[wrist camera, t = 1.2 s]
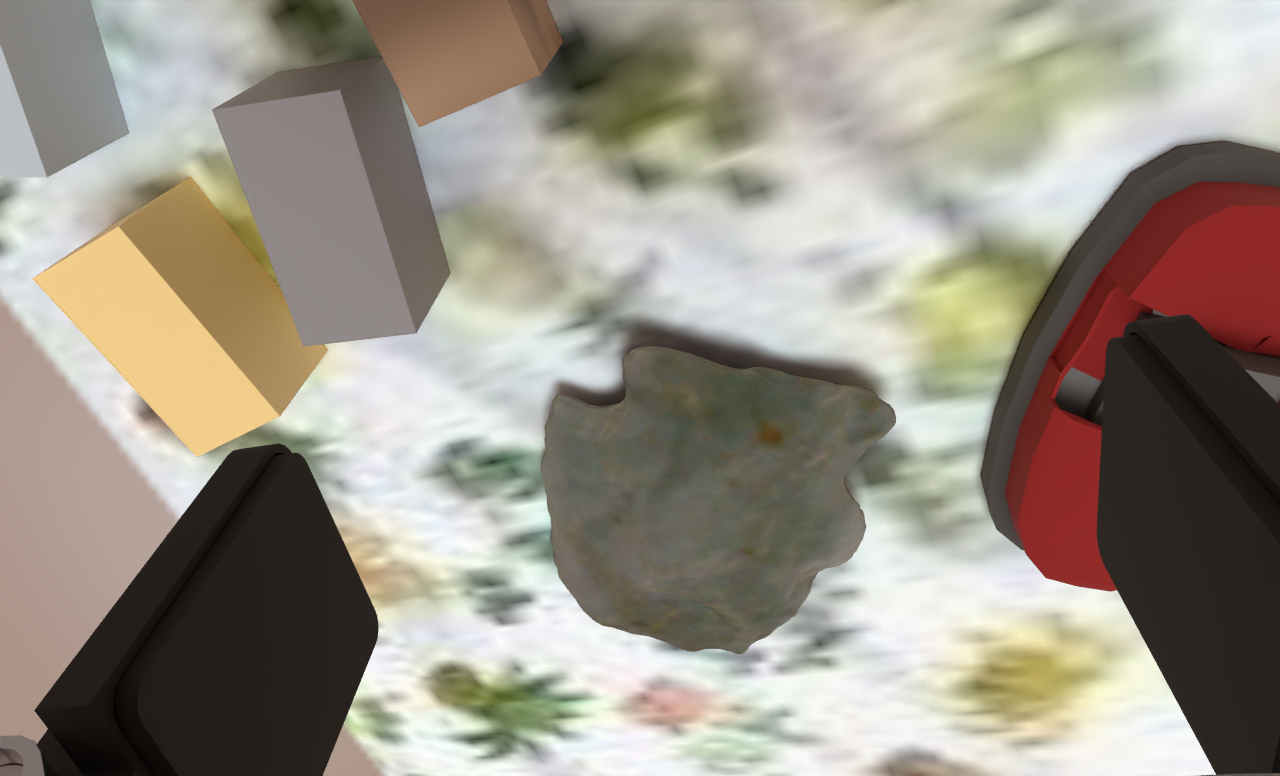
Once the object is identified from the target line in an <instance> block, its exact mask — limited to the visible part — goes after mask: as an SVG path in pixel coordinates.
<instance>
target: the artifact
mask: <svg viewBox="0 0 1280 776" xmlns="http://www.w3.org/2000/svg"><path fill="white" fill-rule="evenodd" d="M622 366H623V379H624V383H625V389H626V395H625V398H624V399H623V400H622V402H620V403H616V404H612V405H608V406H597V405H590V404H588V403H586V402H584V401H582V400H580V399H578V398H576V397H574V396H567V395H556V397H555V399H554V400H553V409H552V413H551V414H550V416H549V418H548V420H547V423H546V425H545V431H546V435H545V439H544V440H545V445H546V452H545V455H544V458H543V461H542V463H541V471H542V476H543V481H544V485H545V492H546V494H547V505H548V511H549V514H550V517H551V524H552V530H551V537H550V542H551V544H552V546H553V548H554V562H555V564H556V566H557V569H558V574H559V578H560V579H561V581H562V582H563V583H564V585H565V586H566V587H567V589H568V590H569V592H570V593H571V594H572V595H573V597H574V598H575V599H576V601H577V602H578V604H579V606H580V607H581V608H582V610H583V611H584V612H585V613H586V614H587V615H588V616H590V617H591V618H592V619H593V620H594V621H595V622H597V623H599V624H601V625H603V626H608V627H613V628H616V629H619V630H622V631H626V632H629V633H632V634H638V635H644V636H650V637H652V638H655V639H658V640H661V641H664V642H667V643H669V644H671V645H674V646H676V647H679V648H681V649H684V650H687V651H699V650H702V649H722V650H726V651H731V652H734V653H736V654H743V653H744V652H745V651H746V650H747V649H748V648H749V647H750V645H751V644H753V643H754V642H756V641H758V640H761V639H763V638H765V637H767V636H769V635H770V634H771V633H772V632H773V631H774V630H775V629H776V628H777V627H779V626H781V625H783V624H784V623H786V622H787V621H788V620H790V619H791V618H792V617H794V616H795V615H796V614H797V612H798V609H799V607H800V606H801V605H802V603H803V602H804V601H805V600H806V598H807V596H808V594H809V593H810V590H811V587H812V583H813V580H814V578H815V577H816V575H817V573H818V572H819V571H821V570H823V569H825V568H829V567H835V566H839V565H841V564H843V563H845V562H847V561H848V560H849V559H850V558H851V557H852V556H853V554H854V552H855V551H856V550H857V549H858V547H859V545H860V543H861V541H862V539H863V536H864V532H865V529H866V524H865V518H864V513H863V511H862V510H861V509H860V505H859V504H858V503H857V502H856V501H855V500H854V499H853V498H852V496H851V494H850V493H849V491H848V490H847V488H846V486H845V474H846V473H847V471H848V470H849V469H850V468H851V467H852V466H853V465H854V464H855V462H856V461H857V460H858V459H859V457H860V456H862V455H863V454H864V452H865V451H866V449H867V448H868V447H869V446H870V445H871V444H872V443H874V442H875V441H877V440H879V439H881V438H882V437H884V436H885V435H886V434H887V433H888V432H889V431H890V429H891V428H892V427H893V426H894V425H895V423H896V416H895V412H894V410H893V408H892V407H891V406H890V405H889V404H888V403H886V402H884V401H882V400H881V399H879V398H878V397H877V396H876V395H875V394H874V392H872V391H871V390H868V389H865V388H862V387H858V386H855V385H837V384H834V383H831V382H829V381H825V380H819V379H813V378H807V377H801V376H794V375H791V374H788V373H785V372H782V371H779V370H776V369H773V368H766V367H760V366H757V367H752V368H747V369H738V368H732V367H728V366H725V365H721V364H718V363H716V362H713V361H710V360H707V359H704V358H702V357H699V356H696V355H693V354H690V353H686V352H682V351H679V350H675V349H671V348H667V347H656V346H644V347H638V348H636V349H634V350H632V351H630V352H629V353H628V354H626V355H625V356H624V357H623V358H622Z"/></svg>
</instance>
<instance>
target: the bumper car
mask: <svg viewBox="0 0 1280 776" xmlns="http://www.w3.org/2000/svg"><path fill="white" fill-rule="evenodd" d="M1183 314H1189V315H1190V316H1191V317H1193V318H1194V319H1195V320H1196V321H1197V322H1198V323H1199V324H1200V325H1201V326H1202V327H1203V328H1204V329H1205V330H1206V331H1207V332H1208V333H1209V334H1210V335H1211V336H1212V337H1213V338H1214V339H1215V340H1216V341H1217V342H1218V343H1219V344H1220V345H1221V346H1222V347H1223V348H1224V349H1225V350H1226V351H1227V352H1228V353H1229V354H1230V355H1231V356H1232V357H1233V358H1234V359H1235V360H1236V361H1237V362H1238V363H1239V364H1240V365H1241V366H1242V367H1243V368H1244V369H1245V370H1246V371H1247V372H1248V373H1249V374H1250V375H1251V376H1252V377H1253V378H1254V379H1255V380H1256V381H1257V382H1258V384H1259V385H1260V386H1261V387H1262V388H1263V389H1264V390H1265V391H1266V392H1267V393H1268V394H1269V395H1270V396H1271V397H1272V398H1273V399H1274V400H1275V401H1276V402H1277V403H1278V404H1279V405H1280V153H1276V152H1272V151H1267V150H1263V149H1258V148H1254V147H1249V146H1245V145H1240V144H1236V143H1231V142H1226V141H1225V142H1216V143H1208V144H1199V145H1191V146H1182V147H1178V148H1176V149H1175V150H1173V151H1171V152H1169V153H1167V154H1166V155H1164V156H1162V157H1160V158H1159V159H1157V160H1155V161H1153V162H1151V163H1150V164H1148V165H1146V166H1144V167H1142V168H1141V169H1139V170H1137V171H1135V172H1134V173H1132V174H1131V175H1130V176H1129V178H1128V179H1127V180H1126V182H1125V183H1124V184H1123V185H1122V187H1121V188H1120V189H1119V191H1118V192H1117V193H1116V194H1115V196H1114V197H1113V198H1112V200H1111V201H1110V202H1109V203H1108V205H1107V206H1106V207H1105V209H1104V210H1103V211H1102V212H1101V214H1100V215H1099V216H1098V218H1097V219H1096V220H1095V221H1094V223H1093V224H1092V225H1091V227H1090V228H1089V229H1088V230H1087V232H1086V233H1085V234H1084V236H1083V237H1082V238H1081V239H1080V241H1079V242H1078V243H1077V245H1076V246H1075V247H1074V248H1073V250H1072V251H1071V252H1070V254H1069V256H1068V258H1067V260H1066V261H1065V263H1064V265H1063V267H1062V268H1061V270H1060V272H1059V274H1058V275H1057V277H1056V279H1055V281H1054V282H1053V284H1052V286H1051V288H1050V290H1049V291H1048V293H1047V295H1046V297H1045V298H1044V300H1043V302H1042V304H1041V305H1040V307H1039V309H1038V311H1037V312H1036V314H1035V316H1034V318H1033V320H1032V321H1031V323H1030V325H1029V327H1028V328H1027V330H1026V332H1025V334H1024V336H1023V339H1022V341H1021V344H1020V347H1019V349H1018V352H1017V354H1016V357H1015V360H1014V362H1013V365H1012V367H1011V370H1010V373H1009V375H1008V378H1007V381H1006V383H1005V386H1004V388H1003V391H1002V394H1001V396H1000V399H999V402H998V404H997V407H996V409H995V413H994V417H993V422H992V427H991V432H990V436H989V441H988V446H987V451H986V455H985V460H984V465H983V469H982V474H981V479H982V483H983V487H984V491H985V495H986V499H987V503H988V507H989V511H990V514H991V517H992V519H993V522H994V524H995V527H996V529H997V530H998V531H999V532H1000V533H1002V534H1003V535H1004V536H1005V537H1007V538H1008V539H1009V540H1010V541H1011V542H1013V543H1014V544H1015V545H1016V546H1018V547H1019V548H1020V549H1021V550H1024V551H1025V553H1026V555H1027V556H1028V557H1029V559H1030V560H1031V561H1032V562H1033V563H1034V564H1035V566H1036V567H1037V568H1038V569H1039V570H1040V572H1041V573H1042V574H1043V575H1044V576H1045V578H1048V579H1052V580H1055V581H1059V582H1063V583H1067V584H1070V585H1074V586H1078V587H1085V588H1091V589H1098V590H1105V591H1115V590H1117V589H1116V587H1115V585H1114V583H1113V581H1112V579H1111V577H1110V575H1109V574H1108V572H1107V570H1106V568H1105V566H1104V564H1103V562H1102V559H1101V556H1100V553H1099V548H1098V543H1097V512H1098V493H1099V474H1100V455H1101V436H1102V417H1103V398H1104V379H1105V360H1106V348H1107V344H1108V341H1109V340H1110V339H1111V338H1116V337H1123V332H1124V330H1125V327H1126V325H1127V324H1128V323H1129V322H1134V321H1141V320H1148V319H1155V318H1162V317H1169V316H1176V315H1183Z"/></svg>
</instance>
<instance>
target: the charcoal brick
mask: <svg viewBox="0 0 1280 776" xmlns="http://www.w3.org/2000/svg"><path fill="white" fill-rule="evenodd" d="M212 111H213V113H214V116H215V119H216V121H217V124H218V126H219V129H220V132H221V134H222V137H223V139H224V142H225V144H226V147H227V150H228V152H229V155H230V157H231V160H232V163H233V165H234V168H235V170H236V173H237V176H238V178H239V181H240V183H241V186H242V189H243V191H244V194H245V196H246V199H247V202H248V204H249V207H250V209H251V212H252V215H253V217H254V220H255V222H256V225H257V228H258V230H259V233H260V235H261V238H262V241H263V243H264V246H265V248H266V251H267V254H268V256H269V259H270V261H271V264H272V267H273V269H274V272H275V274H276V277H277V280H278V282H279V285H280V287H281V290H282V292H283V295H284V298H285V300H286V303H287V305H288V308H289V311H290V313H291V316H292V318H293V321H294V324H295V326H296V329H297V331H298V334H299V337H300V339H301V342H302V344H303V347H304V346H313V345H321V344H329V343H338V342H346V341H355V340H363V339H372V338H380V337H389V336H397V335H405V334H414V333H417V331H418V329H419V328H420V326H421V324H422V322H423V321H424V319H425V317H426V315H427V314H428V312H429V310H430V308H431V306H432V305H433V303H434V301H435V299H436V298H437V296H438V294H439V292H440V291H441V289H442V287H443V285H444V284H445V282H446V280H447V278H448V277H449V275H450V270H449V267H448V263H447V259H446V256H445V252H444V249H443V245H442V242H441V238H440V235H439V231H438V228H437V224H436V221H435V217H434V214H433V210H432V207H431V203H430V199H429V196H428V192H427V189H426V185H425V182H424V178H423V175H422V171H421V168H420V164H419V161H418V157H417V154H416V150H415V147H414V143H413V140H412V136H411V132H410V129H409V125H408V122H407V118H406V115H405V111H404V108H403V104H402V101H401V97H400V94H399V90H398V87H397V84H396V82H395V80H394V79H393V77H392V75H391V73H390V71H389V69H388V67H387V65H386V63H385V61H384V60H383V58H382V56H377V57H371V58H365V59H359V60H352V61H346V62H340V63H334V64H327V65H321V66H315V67H309V68H302V69H296V70H290V71H283V72H277V73H275V74H273V75H272V76H270V77H268V78H266V79H265V80H263V81H261V82H260V83H258V84H256V85H254V86H253V87H251V88H249V89H247V90H246V91H244V92H242V93H241V94H239V95H237V96H235V97H234V98H232V99H230V100H229V101H227V102H225V103H223V104H222V105H220V106H218V107H216V108H215V109H213V110H212Z"/></svg>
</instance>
